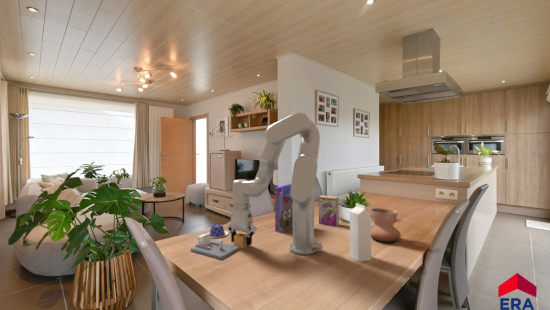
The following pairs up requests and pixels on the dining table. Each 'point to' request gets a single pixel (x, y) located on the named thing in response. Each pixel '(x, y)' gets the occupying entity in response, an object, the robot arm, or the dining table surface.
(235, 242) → the orange hollow cube
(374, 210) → the ceramic jug
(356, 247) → the milk
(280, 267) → the dining table surface
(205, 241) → the cream square block
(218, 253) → the base
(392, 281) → the dining table surface
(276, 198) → the cereal box
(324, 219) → the candy bar box
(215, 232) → the pudding
